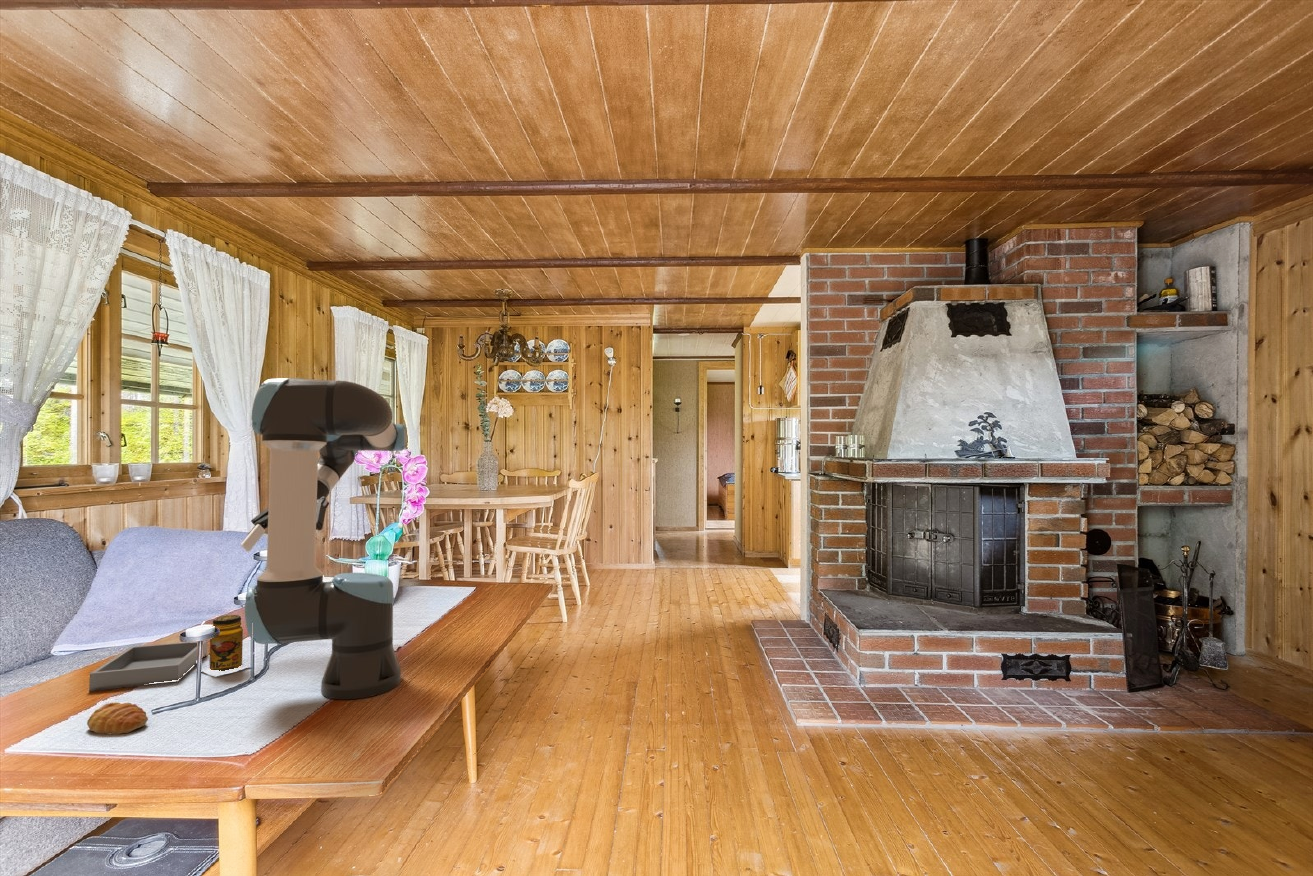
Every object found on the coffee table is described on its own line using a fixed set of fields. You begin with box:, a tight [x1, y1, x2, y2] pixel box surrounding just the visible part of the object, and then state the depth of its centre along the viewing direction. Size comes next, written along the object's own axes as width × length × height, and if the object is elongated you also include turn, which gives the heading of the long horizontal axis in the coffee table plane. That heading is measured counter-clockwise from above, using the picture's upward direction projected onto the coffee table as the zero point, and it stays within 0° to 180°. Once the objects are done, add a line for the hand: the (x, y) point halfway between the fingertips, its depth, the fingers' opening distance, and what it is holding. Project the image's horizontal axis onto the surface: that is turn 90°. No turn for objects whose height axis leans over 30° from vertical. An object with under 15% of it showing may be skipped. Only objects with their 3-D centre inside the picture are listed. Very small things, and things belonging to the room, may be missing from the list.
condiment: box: [208, 614, 244, 671], centre depth 138 cm, size 7×8×12 cm
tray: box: [88, 640, 208, 692], centre depth 136 cm, size 19×15×4 cm
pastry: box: [86, 702, 149, 735], centre depth 108 cm, size 9×7×4 cm
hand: (266, 549), depth 148 cm, fingers open, 13 cm apart
